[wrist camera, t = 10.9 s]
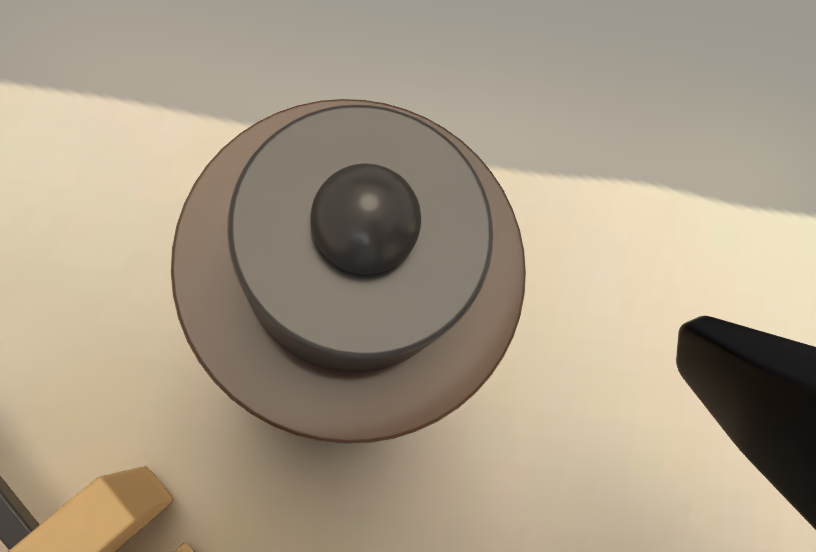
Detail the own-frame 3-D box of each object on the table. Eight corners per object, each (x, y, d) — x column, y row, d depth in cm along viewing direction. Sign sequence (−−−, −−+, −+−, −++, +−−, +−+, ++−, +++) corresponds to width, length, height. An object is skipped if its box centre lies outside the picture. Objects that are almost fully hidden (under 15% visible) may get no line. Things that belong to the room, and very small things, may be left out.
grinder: (440, 328, 20) (673, 149, 7) (355, 467, 19) (451, 552, 6) (309, 243, 20) (305, -89, 7) (214, 376, 19) (4, 263, 6)
